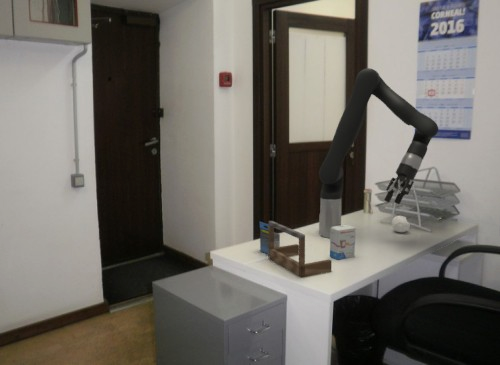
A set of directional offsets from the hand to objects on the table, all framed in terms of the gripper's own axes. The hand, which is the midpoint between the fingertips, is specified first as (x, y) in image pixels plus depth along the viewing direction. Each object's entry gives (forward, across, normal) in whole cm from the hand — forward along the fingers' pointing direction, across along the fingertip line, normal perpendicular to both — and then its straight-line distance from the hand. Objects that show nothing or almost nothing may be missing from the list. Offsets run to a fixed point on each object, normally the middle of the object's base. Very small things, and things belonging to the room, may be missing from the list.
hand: (391, 202), depth 185 cm
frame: (+38, +10, -26) cm, 47 cm away
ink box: (+28, +5, -10) cm, 31 cm away
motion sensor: (+7, -23, +22) cm, 32 cm away
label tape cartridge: (+40, -6, -34) cm, 53 cm away
